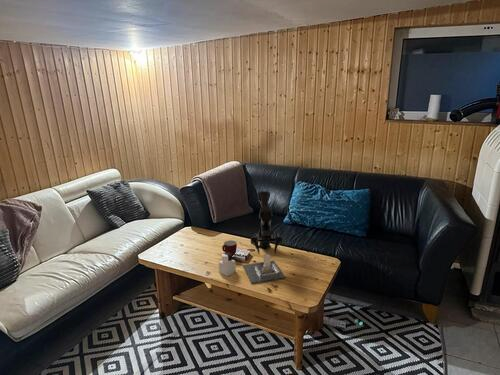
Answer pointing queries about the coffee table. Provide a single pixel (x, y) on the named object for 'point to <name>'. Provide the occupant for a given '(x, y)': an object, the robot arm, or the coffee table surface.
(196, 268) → the coffee table surface
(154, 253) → the coffee table surface
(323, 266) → the coffee table surface
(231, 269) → the medicine bottle
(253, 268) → the keeper board
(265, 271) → the beige flared base peg
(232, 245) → the mug
